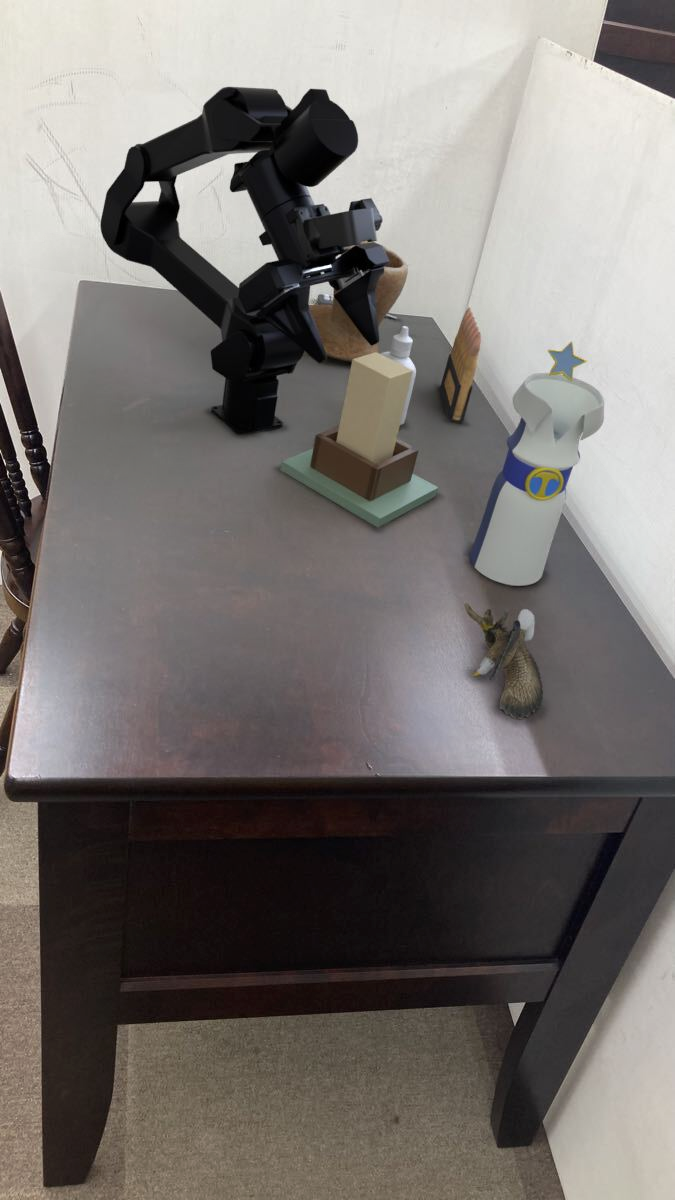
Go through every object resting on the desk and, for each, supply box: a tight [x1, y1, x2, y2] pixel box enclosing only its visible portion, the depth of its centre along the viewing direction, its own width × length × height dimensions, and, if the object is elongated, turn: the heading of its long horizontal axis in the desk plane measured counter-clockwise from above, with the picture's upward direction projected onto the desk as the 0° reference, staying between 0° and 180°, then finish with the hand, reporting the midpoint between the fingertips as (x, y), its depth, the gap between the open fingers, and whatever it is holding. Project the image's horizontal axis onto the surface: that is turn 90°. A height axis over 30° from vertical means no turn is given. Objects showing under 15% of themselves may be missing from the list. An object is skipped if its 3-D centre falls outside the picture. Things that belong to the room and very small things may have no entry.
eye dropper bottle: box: [380, 325, 417, 426], centre depth 111 cm, size 4×6×12 cm
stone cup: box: [309, 241, 409, 363], centre depth 127 cm, size 15×12×15 cm
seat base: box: [279, 425, 439, 529], centre depth 98 cm, size 14×11×5 cm
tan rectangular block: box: [336, 352, 413, 464], centre depth 95 cm, size 5×4×13 cm
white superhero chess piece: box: [469, 340, 605, 587], centre depth 85 cm, size 8×9×25 cm
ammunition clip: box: [439, 306, 482, 424], centre depth 118 cm, size 11×2×12 cm, turn 1°
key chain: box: [316, 293, 398, 320], centre depth 144 cm, size 13×4×2 cm, turn 94°
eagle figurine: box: [464, 602, 544, 720], centre depth 76 cm, size 8×7×9 cm
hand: (350, 352), depth 94 cm, fingers open, 9 cm apart
